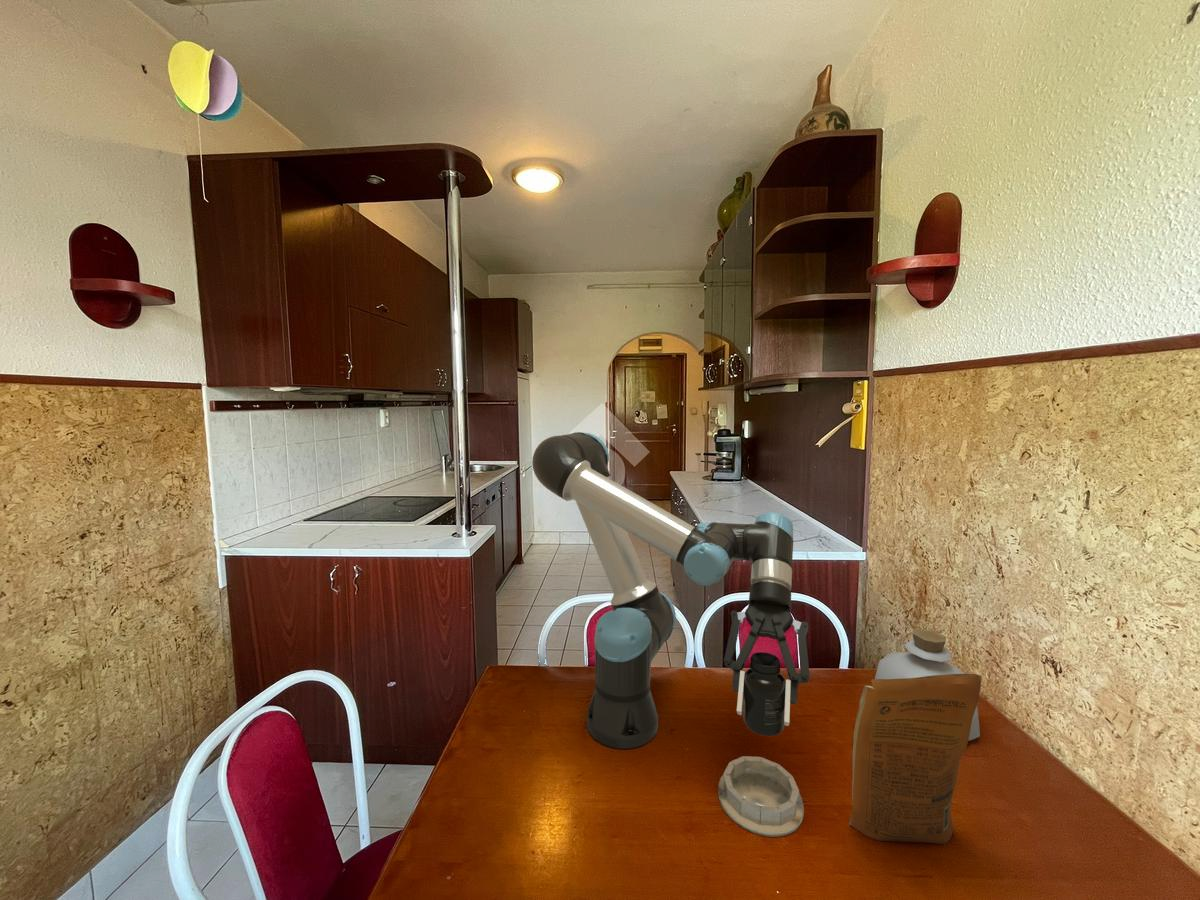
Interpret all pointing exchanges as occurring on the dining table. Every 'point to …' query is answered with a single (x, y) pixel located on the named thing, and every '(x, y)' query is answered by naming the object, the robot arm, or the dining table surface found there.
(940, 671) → the bottle
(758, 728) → the supplement bottle
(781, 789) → the silver bowl
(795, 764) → the dining table surface
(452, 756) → the dining table surface
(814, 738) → the dining table surface
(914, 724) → the pancake mix bag
